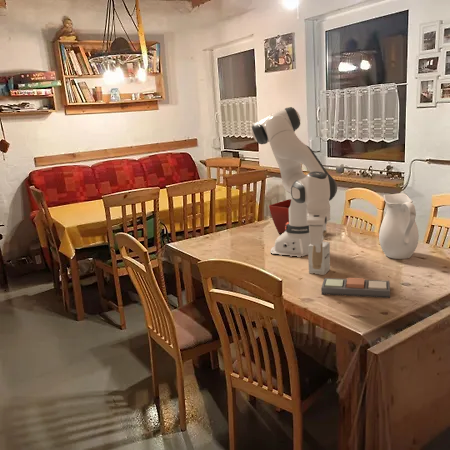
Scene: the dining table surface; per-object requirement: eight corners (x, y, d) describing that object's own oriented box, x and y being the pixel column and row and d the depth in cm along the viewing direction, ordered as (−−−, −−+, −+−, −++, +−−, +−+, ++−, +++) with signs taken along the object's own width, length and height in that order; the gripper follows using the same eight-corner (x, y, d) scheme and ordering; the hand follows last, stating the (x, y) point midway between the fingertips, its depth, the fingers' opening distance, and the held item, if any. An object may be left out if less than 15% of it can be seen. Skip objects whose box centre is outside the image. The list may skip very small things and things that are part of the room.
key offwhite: (368, 292, 174) (368, 287, 173) (368, 286, 179) (368, 280, 179) (386, 293, 172) (386, 288, 171) (386, 286, 177) (386, 281, 177)
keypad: (321, 294, 177) (321, 288, 177) (324, 284, 187) (324, 278, 186) (389, 297, 170) (390, 291, 169) (389, 287, 179) (389, 280, 178)
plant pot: (269, 233, 265) (267, 205, 260) (290, 226, 277) (289, 198, 273) (295, 239, 251) (294, 208, 247) (316, 230, 263) (316, 201, 259)
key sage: (325, 290, 179) (325, 285, 178) (326, 284, 184) (326, 279, 184) (342, 291, 177) (342, 286, 176) (343, 285, 182) (343, 279, 182)
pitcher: (374, 250, 222) (374, 194, 215) (410, 248, 221) (411, 191, 214) (390, 268, 198) (391, 204, 192) (430, 265, 198) (432, 202, 191)
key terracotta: (346, 289, 176) (346, 283, 175) (347, 282, 182) (347, 277, 181) (364, 289, 174) (363, 284, 173) (364, 283, 180) (364, 278, 179)
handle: (306, 267, 182) (307, 230, 177) (320, 265, 184) (322, 228, 180) (312, 271, 177) (314, 234, 173) (327, 269, 179) (329, 232, 175)
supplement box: (324, 275, 196) (324, 247, 193) (308, 273, 200) (307, 245, 197) (330, 269, 202) (330, 242, 199) (314, 267, 206) (313, 240, 203)
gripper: (313, 208, 185) (314, 241, 189) (306, 221, 166) (307, 258, 170) (329, 208, 183) (330, 242, 187) (324, 221, 164) (324, 258, 168)
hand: (319, 249), depth 178 cm, fingers closed on handle, 3 cm apart
